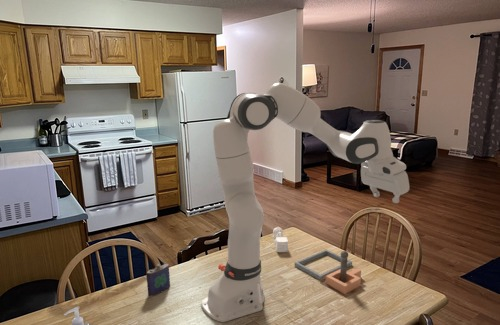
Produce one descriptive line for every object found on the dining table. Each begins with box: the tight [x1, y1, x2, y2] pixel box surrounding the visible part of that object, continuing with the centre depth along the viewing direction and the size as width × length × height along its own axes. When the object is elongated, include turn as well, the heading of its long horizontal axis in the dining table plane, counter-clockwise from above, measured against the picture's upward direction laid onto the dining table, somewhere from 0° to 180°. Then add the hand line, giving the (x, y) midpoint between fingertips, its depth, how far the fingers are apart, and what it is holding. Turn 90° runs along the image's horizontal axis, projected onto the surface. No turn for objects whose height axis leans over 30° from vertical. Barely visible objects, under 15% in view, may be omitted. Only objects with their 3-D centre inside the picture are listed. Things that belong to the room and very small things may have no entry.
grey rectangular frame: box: [294, 249, 353, 281], centre depth 150 cm, size 19×14×3 cm
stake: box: [319, 250, 367, 298], centre depth 134 cm, size 12×12×15 cm
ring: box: [325, 267, 362, 294], centre depth 137 cm, size 14×9×3 cm, turn 127°
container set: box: [272, 226, 289, 253], centre depth 173 cm, size 20×5×6 cm, turn 2°
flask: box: [145, 263, 171, 297], centre depth 134 cm, size 9×3×11 cm, turn 138°
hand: (386, 199), depth 133 cm, fingers open, 8 cm apart
